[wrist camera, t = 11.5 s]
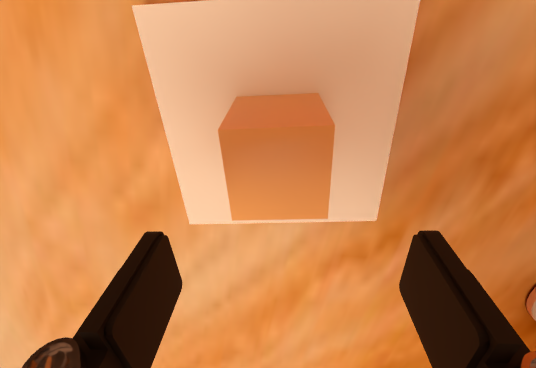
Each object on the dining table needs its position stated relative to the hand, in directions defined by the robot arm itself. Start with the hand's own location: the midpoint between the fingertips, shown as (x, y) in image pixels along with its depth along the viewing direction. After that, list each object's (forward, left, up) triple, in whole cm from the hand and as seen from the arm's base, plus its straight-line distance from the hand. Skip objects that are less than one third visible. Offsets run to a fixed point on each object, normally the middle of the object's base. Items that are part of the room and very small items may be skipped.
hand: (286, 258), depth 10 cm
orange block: (0, 0, -13) cm, 13 cm away
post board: (0, 0, -15) cm, 15 cm away
